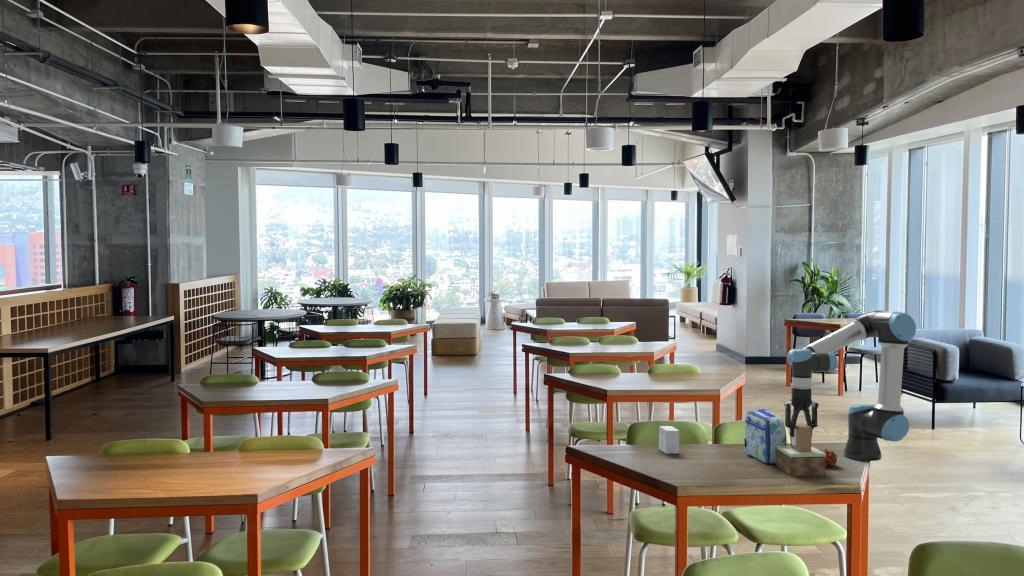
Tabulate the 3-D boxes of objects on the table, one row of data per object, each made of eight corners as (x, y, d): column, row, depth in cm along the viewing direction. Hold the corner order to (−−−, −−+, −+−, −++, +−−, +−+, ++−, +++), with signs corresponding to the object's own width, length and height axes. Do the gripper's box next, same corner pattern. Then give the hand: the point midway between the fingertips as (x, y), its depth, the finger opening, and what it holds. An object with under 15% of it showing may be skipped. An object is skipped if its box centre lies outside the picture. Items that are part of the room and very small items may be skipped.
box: (809, 468, 329) (809, 449, 328) (824, 477, 315) (825, 457, 314) (776, 468, 327) (776, 449, 327) (790, 478, 313) (791, 458, 313)
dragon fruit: (840, 472, 329) (811, 476, 328) (831, 456, 335) (803, 460, 335) (843, 458, 323) (814, 463, 323) (834, 443, 330) (806, 447, 330)
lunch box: (741, 452, 355) (742, 406, 354) (765, 452, 356) (766, 406, 355) (763, 467, 329) (764, 417, 328) (788, 467, 330) (789, 417, 329)
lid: (809, 448, 328) (810, 421, 328) (825, 456, 314) (826, 428, 314) (777, 448, 327) (777, 421, 327) (791, 457, 313) (791, 429, 313)
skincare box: (679, 453, 353) (680, 430, 352) (665, 454, 352) (665, 430, 352) (672, 448, 363) (672, 425, 363) (658, 448, 362) (658, 425, 362)
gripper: (818, 385, 324) (818, 442, 325) (776, 386, 323) (775, 443, 324) (827, 388, 317) (826, 446, 318) (783, 389, 315) (783, 447, 316)
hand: (800, 444), depth 321 cm, fingers closed on lid, 5 cm apart
